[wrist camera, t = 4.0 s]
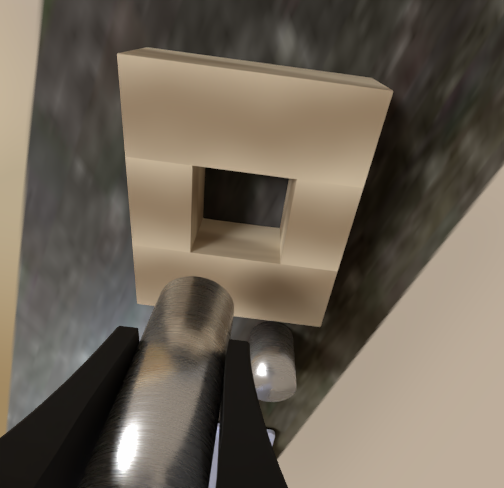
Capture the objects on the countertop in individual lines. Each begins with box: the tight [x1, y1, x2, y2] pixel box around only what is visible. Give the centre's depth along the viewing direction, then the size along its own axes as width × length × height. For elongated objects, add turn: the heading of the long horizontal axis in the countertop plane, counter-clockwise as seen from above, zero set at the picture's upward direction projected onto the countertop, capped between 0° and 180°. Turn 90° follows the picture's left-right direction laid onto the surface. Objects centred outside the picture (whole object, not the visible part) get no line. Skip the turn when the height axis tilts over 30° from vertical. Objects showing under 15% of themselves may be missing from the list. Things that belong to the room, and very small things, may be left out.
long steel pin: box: [78, 276, 234, 488], centre depth 11 cm, size 3×3×7 cm
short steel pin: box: [250, 322, 296, 402], centre depth 23 cm, size 3×3×4 cm
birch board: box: [117, 47, 393, 327], centre depth 17 cm, size 12×10×4 cm
